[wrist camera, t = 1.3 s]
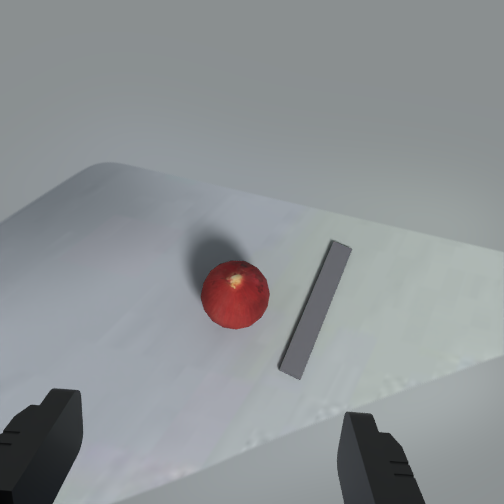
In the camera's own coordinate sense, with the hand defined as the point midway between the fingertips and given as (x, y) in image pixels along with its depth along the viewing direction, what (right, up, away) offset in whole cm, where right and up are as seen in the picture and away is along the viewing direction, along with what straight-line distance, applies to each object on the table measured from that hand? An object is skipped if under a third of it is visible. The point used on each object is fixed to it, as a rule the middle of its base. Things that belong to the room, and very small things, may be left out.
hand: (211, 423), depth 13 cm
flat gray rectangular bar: (+7, 0, +28) cm, 29 cm away
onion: (0, 0, +28) cm, 27 cm away
